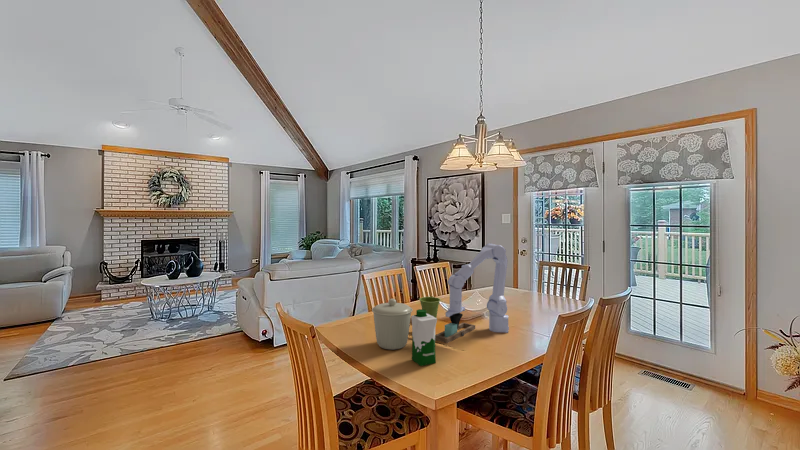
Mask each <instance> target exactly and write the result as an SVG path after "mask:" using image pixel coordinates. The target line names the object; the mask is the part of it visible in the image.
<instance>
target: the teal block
mask: <svg viewBox="0 0 800 450" xmlns="http://www.w3.org/2000/svg"><path fill="white" fill-rule="evenodd" d="M444 331H445V336H444V337H445V338H447V337H449V336H451V335H453V334H455V333H457V332H458V330H457V324H453V323H451V322H449V323H447V324H444Z"/></svg>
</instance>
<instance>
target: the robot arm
mask: <svg viewBox="0 0 800 450" xmlns="http://www.w3.org/2000/svg"><path fill="white" fill-rule="evenodd" d="M506 253H507V250H506V248H505V247H504V246H503V245H502V244H495V243H491V242H490V243H486V244H485V245H484V246H483V247H482V248H481V249H480V251H479V253H477V254H476V256H475V257H474V258H473V259H472V260H471V261H470V262H469V263H468V264H466V263H465V264H462V265H461V268H460V269H458V271H456V272H454V274H452V275H450V276H449V278H448V280H447V284H448V286H449V307H448V308H447V311H445V317H447V318H449V320H450V323H453V324H457V329H458V326H459V324H460V323H461V322H460V321H461V319H462V317H463V313H462V312H465V311H466V307H465V306H462V305H463V304H462V303H463V301H462V299H463V298H462V297H463V294H462V293H463V292H462V291H463V288H464V287H465V282H466V281H467V280H469V278H470V277H471V276H472V275H473V274H474V272H475V269H476V268H478V266H480V265H481V264H482V263H483V262H484V261H485V260H486V259H492V260H493V262H494V263H495V267H494V268H495V269H494V276H493V277H494V278H493V285H492V293H491V295H489V296H488V301H487V302H486V309H487V310H488V316H489V317H488V330H489V331H490V332H493V333H506V334H508V333H509V331H510V326H509V315H508V314H507V312H508V306H507V299H506V297H505V296H504V294H505V287H506V278H507V268H508V257H507V254H506Z"/></svg>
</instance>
